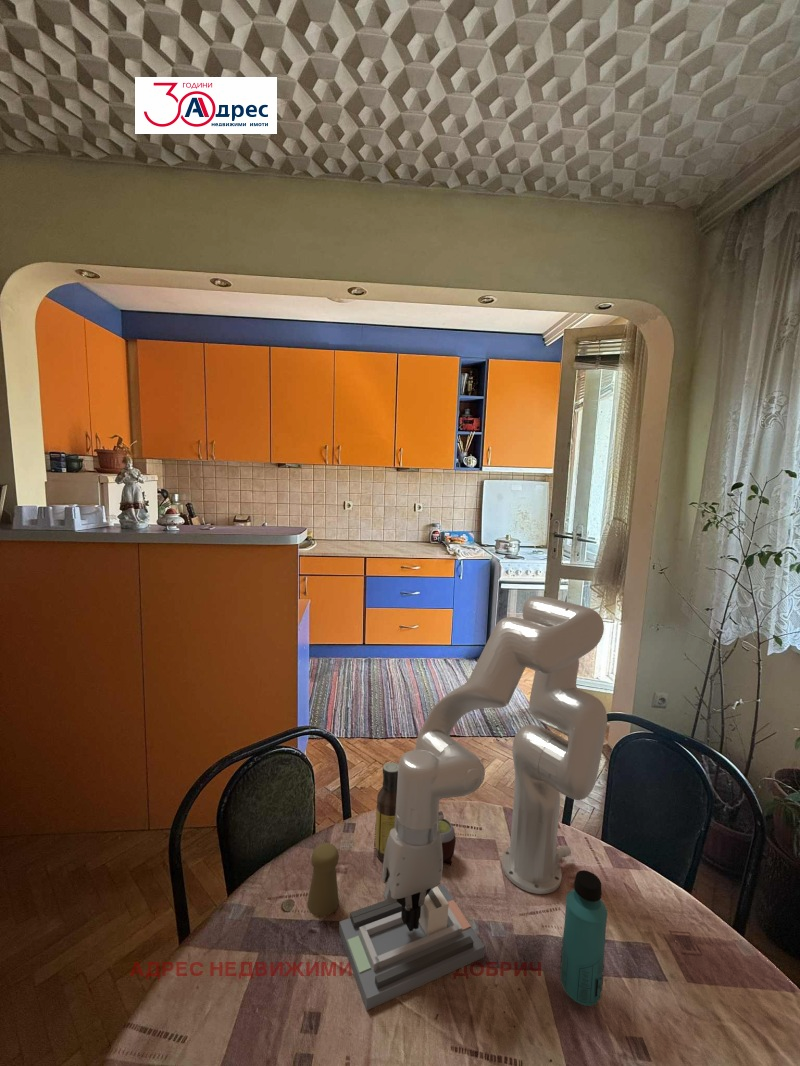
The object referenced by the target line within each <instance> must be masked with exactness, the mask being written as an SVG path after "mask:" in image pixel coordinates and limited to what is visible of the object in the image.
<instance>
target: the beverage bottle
mask: <svg viewBox="0 0 800 1066" xmlns="http://www.w3.org/2000/svg"><path fill="white" fill-rule="evenodd" d="M574 878H575V879H574V881H573V889H571V890H569V891H568V893H567V894H566V898H565V912H564V913H565V914H564V925H563V927H562V928H563V935H562V942H561V943H562V945H561V951H560V953H561V954H560V967H559V969H560V973H559V977H560V982H561V985H562V987H563V990H564V991H565V993H566V994H567V996H568V997H570V999H572V1000H573V1001H574V1002H575V1003H577V1004H580V1005H582V1006H587V1007H592V1006H595V1005H596V1004H597V1003H598V1002H599V1000H600V999H601V997H602V996H603V995H602V992H603V985H604V969H605V959H606V956H605V950H606V935H607V934H606V933H607V931H606V930H607V922H608V921H607V919H608V914H609V913H608V910H607V909H608V908H607V906H606V904H605V902H604V901H603V900H602V899H601V898H602V893H603V892H602V882H601V880H600V878H599V877H598V876H597V875H596V874H594V873H593V872H591V871H590V870H589V871H588V870H585V869H584V870H579V871H577V872H576V874H575V877H574Z"/></svg>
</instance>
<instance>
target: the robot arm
mask: <svg viewBox="0 0 800 1066" xmlns="http://www.w3.org/2000/svg"><path fill="white" fill-rule="evenodd" d="M604 631H605V624H604V620H603V617H602V616H601V615H600V613H599V612H598V611H596V610H595V609H593V608H590V607H587V606H583V605H580V604H575V603H572V602H568V601H564V600H561V599H557V598H553V597H547V596H540V595H539V596H538V595H535V596H531V597H529V598H527V600H525V601H524V603H523V606H522V618H519V617H517V616H516V617H515V616H507V617H503V618H501V619H500V620H499V621H497V623H496V625H495V626H494V628H493V630H492V632H491V633H490V636H489V638H488V640H487V642H486V644H485V646H484V648H483V650H482V652H481V654H480V656H479V658H478V659H477V661H476V664H475V666H474V668H473V670H472V672H471V674H470V676H469V678H468V679H467V681H465V683H464V684H462V685H461V686H459V687H456V688H455V689H453V690H452V691H450V692H449V693H448V694H446V695H445V696H444V697H442V698H441V699H440V700H439V701H437V703H435V705H434V706H433V707H432V709H430V712H429V713H428V715H427V717H426V719H425V721H424V723H423V724H422V727H421V729H420V731H419V733H418V735H417V739H416V742H415V746H414V749H412V750H409V751H407V752H405V753H403V754H402V756H401V757H400V759H399V761H398V764H399V765H398V780H397V798H396V814H395V828H393V829H391V831H390V833H389V837H388V840H387V844H386V849H385V855H384V861H382V872H381V879H382V882H383V884H386V885H385V888H384V892H383V896H382V897H383V900H385V901H386V903H394V902H398V903H399V904H401V905H402V912H401V917H402V921H403V923H404V924H406V925H407V927H408V929H409V931H413V929H418V927H419V918H420V913H421V906H422V905H423V904H424V901H425V897H426V896H427V894H428V893H429V892H430V890H431V889H433V888H435V887H436V886H440V884H441V880H442V877H443V872H444V871H443V867H444V863H443V851H442V841H441V835H440V830H439V828H438V824H439V821H440V820H443V819H445V818H444V817H445V816H444V813H443V811H442V810H440V800H441V799H448V798H449V799H450V798H458V797H459V798H461V797H465V796H469V795H472V794H474V793H475V792H476V791H478V789H480V787H481V786H482V784H483V782H484V780H485V776H486V770H485V766H484V763H483V762H482V760H481V759H480V758H479V756H477V755H476V754H475V753H474V752H472V750H470V749H468V748H466V747H465V746H464V745H463V744H461V743H460V742H459V741H457V740H456V739H454V738H453V737H451V736H450V735H451V734H452V731H453V729H454V728H455V726H456V724H457V723H458V722H459V721H460V719H461V718H462V717H464V716H465V715H466V714H468V713H470V712H473V711H475V710H479V709H480V710H481V709H489V708H490V709H491V708H492V709H493V708H494V709H496V708H498V709H500V708H505V707H506V706H508V705H509V703H510V702H511V699H512V697H513V695H514V693H515V690H516V689H517V687H518V684H519V682H520V680H521V678H522V676H523V673H524V672H525V670H526V668H527V669H530V670H532V671H534V675H533V680H532V684H531V689H530V690H531V691H530V694H529V703H528V707H529V709H528V710H529V712H530V714H531V715H532V716H533V718H535V719H536V720H538V721H539V722H540V723H542V724H544V725H546V726H548V727H550V728H551V729H554V730H555V731H557V732H559V733H561V734H563V735H565V736H567V738H568V739H567V740H566V739H565V738H563V737H562V736H560V735H558V734H557V733H555V732H552V731H551V730H549V729H547V728H546V727H542V726H539V725H536V724H527V725H524V726H522V727H520V729H518V731H517V732H516V734H515V736H514V738H513V740H512V761H513V766H514V767H513V768H514V787H513V788H514V791H513V803H512V815H511V827H510V829H511V830H510V842H509V847H507V848H506V849H505V850H504V851H503V853H502V855H501V867H502V871H503V873H504V875H505V876H506V878H507V879H509V881H510V882H511V883H512V884H514V885H515V886H517V888H519V889H521V890H523V891H526V892H528V893H532V894H536V895H546V894H550V893H553V892H554V891H556V890H558V888H559V887H560V886H561V884H562V868H561V867H560V864H559V862H560V861H561V860H562V858H566V857H569V856H571V855H572V849H571V848H570V847H569V846H568V845H563V846H561V847H559V844H558V831H559V830H558V829H559V820H560V819H559V818H560V809H561V795H564V796H566V797H567V798H569V799H572V800H574V801H582V800H584V799H587V798H588V797H589V795H590V794H591V793H592V791H593V789H594V787H595V784H596V782H597V778H598V773H599V770H600V765H601V764H600V763H601V759H602V755H603V754H602V753H603V748H604V743H605V738H606V734H607V729H608V728H607V726H608V715H607V710H606V707H605V704H604V703H603V702H602V701H601V700H600V699H599V698H598V697H596V696H595V695H593V694H591V693H588V692H586V691H583V690H581V689H580V688H578V685H577V679H578V673H579V666H580V659H581V658H582V657H583V656H586V655H587V654H588V653H589V652H591V651H593V650H594V649H595V648H596V647H597V646H598V645H599V643H600V642H601V640H602V638H603V635H604ZM560 794H561V795H560ZM558 847H559V848H558Z"/></svg>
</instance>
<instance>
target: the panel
mask: <svg viewBox="0 0 800 1066" xmlns="http://www.w3.org/2000/svg"><path fill="white" fill-rule="evenodd" d="M436 887H437V886H436ZM438 888H439V889H440V891H441V893H442V894H443V896H444V897H445V899H446V900H447V902H448V903H449V905H448V920H447V928H446V929H443V930H441V931H438V932H436V933H434V934H431V935H429V936H426V934H425V932H424V931H423V929H422V927H421V925H420V923H419V927H418V929H413V931H409V929H408V927H407V925H406V924H404V923H403V921H402V917H401V912H402V905H401V904H399V903H398V902H394V903H386V901H385V899H383V900H382V901H379V902H377V903H374V904H373V903H372V904H369V905H368V906H365V907H362V908H359V909H355V910H353V911H351V912H349V913H350V914H349V918H345V919H343V920H341V921H339V923H338V924H339V925H338V926H339V927H338V934H339V935H340V936H339V937H340V939H341V942H342V945H343V948H344V951H345V954H346V956H347V959H348V962H349V965H350V968H351V971H352V973H353V977H354V979H355V981H356V984H357V988H358V990H359V993H360V996H361V999H362V1002H363V1006H364V1007H365V1010H366V1011H369V1010H371V1009H373V1008H376V1007H378V1006H380V1005H382V1004H384V1003H387V1002H389V1001H391V1000H393V999H396V998H398V997H400V996H402V995H405V994H407V993H409V992H411V991H413V990H415V989H418V988H419V987H422V986H425V985H426V984H428V983H430V982H433V981H434V980H438V979H439V978H442V977H443V976H445V975H449V974H450V973H453V972H455V971H457V970H459V969H461V968H464V967H466V966H467V965H469V964H473V963H474V962H477V961H479V960H481V959H483V958H484V957H485V947H486V946H485V945H484V943H483V942H482V940H481V939H480V937H479V936H478V934H477V933H476V931H475V930H474V928H473V927H472V925H471V924H470V922H469V921H468V919H467V917H466V916H465V914H464V913H463V911H462V910H461V908H460V906H458V904H457V902H456V900H455V899H454V897H453V896H452V894H451V893H450V892H449V890H448V888H447V887H446V885H445V884H443V883H442V885H438Z"/></svg>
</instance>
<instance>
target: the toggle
mask: <svg viewBox="0 0 800 1066" xmlns="http://www.w3.org/2000/svg"><path fill="white" fill-rule="evenodd" d="M438 886H439V885H438ZM438 886H437V887H435V888H433V889H431V890H430V892H429V893H428V894H427V896H426V897H425V901H424V904H423V905H422V906H421V913H420V918H419V923H420V925H421V927H422V929H423V931H424V932H425V934H426V936H429V935H431V934H434V933H436V932H438V931H441V930H443V929H446V928H447V920H448V905H449V903H448V902H447V900H446V899H445V897H444V896H443V894H442V893H441V891H440V889H439V888H438Z"/></svg>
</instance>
